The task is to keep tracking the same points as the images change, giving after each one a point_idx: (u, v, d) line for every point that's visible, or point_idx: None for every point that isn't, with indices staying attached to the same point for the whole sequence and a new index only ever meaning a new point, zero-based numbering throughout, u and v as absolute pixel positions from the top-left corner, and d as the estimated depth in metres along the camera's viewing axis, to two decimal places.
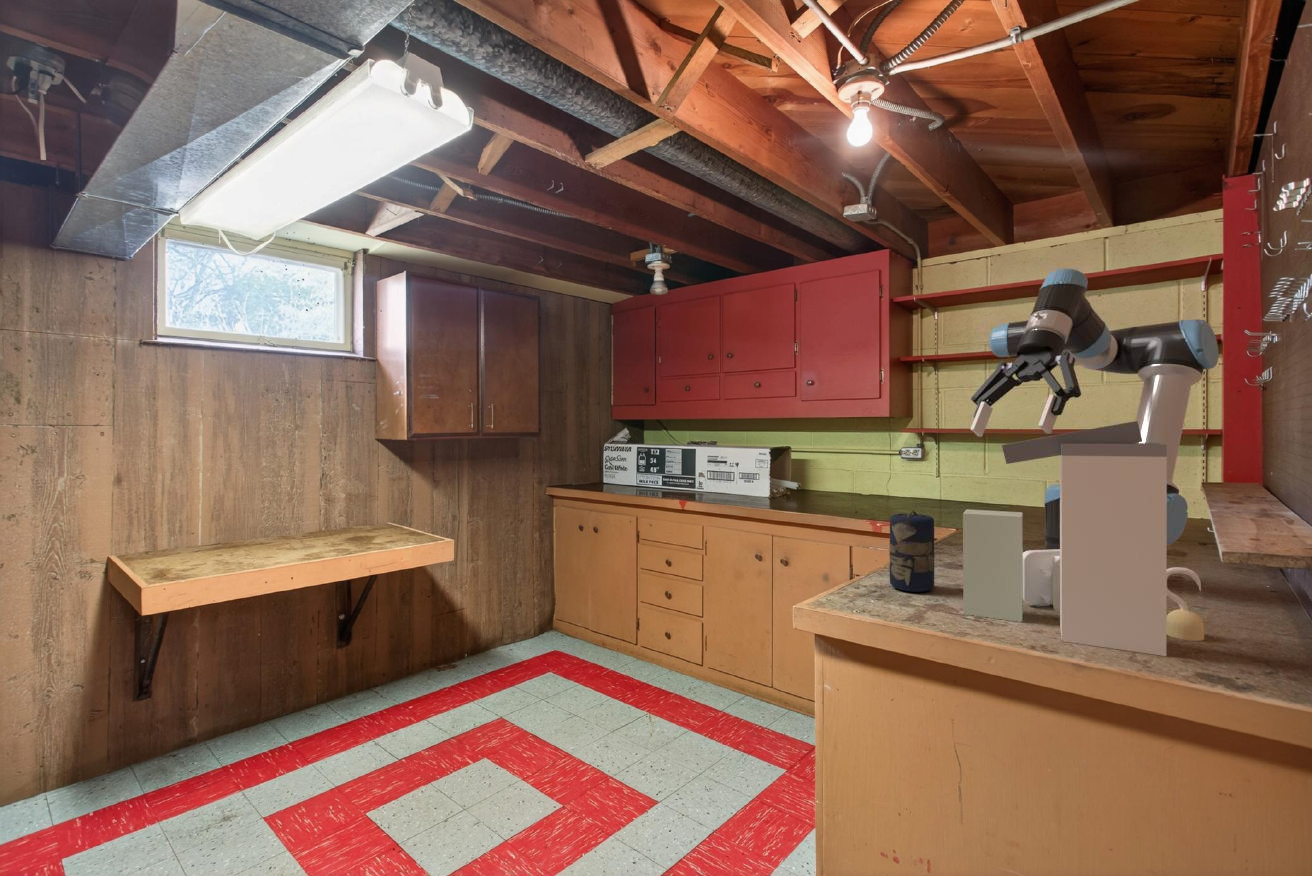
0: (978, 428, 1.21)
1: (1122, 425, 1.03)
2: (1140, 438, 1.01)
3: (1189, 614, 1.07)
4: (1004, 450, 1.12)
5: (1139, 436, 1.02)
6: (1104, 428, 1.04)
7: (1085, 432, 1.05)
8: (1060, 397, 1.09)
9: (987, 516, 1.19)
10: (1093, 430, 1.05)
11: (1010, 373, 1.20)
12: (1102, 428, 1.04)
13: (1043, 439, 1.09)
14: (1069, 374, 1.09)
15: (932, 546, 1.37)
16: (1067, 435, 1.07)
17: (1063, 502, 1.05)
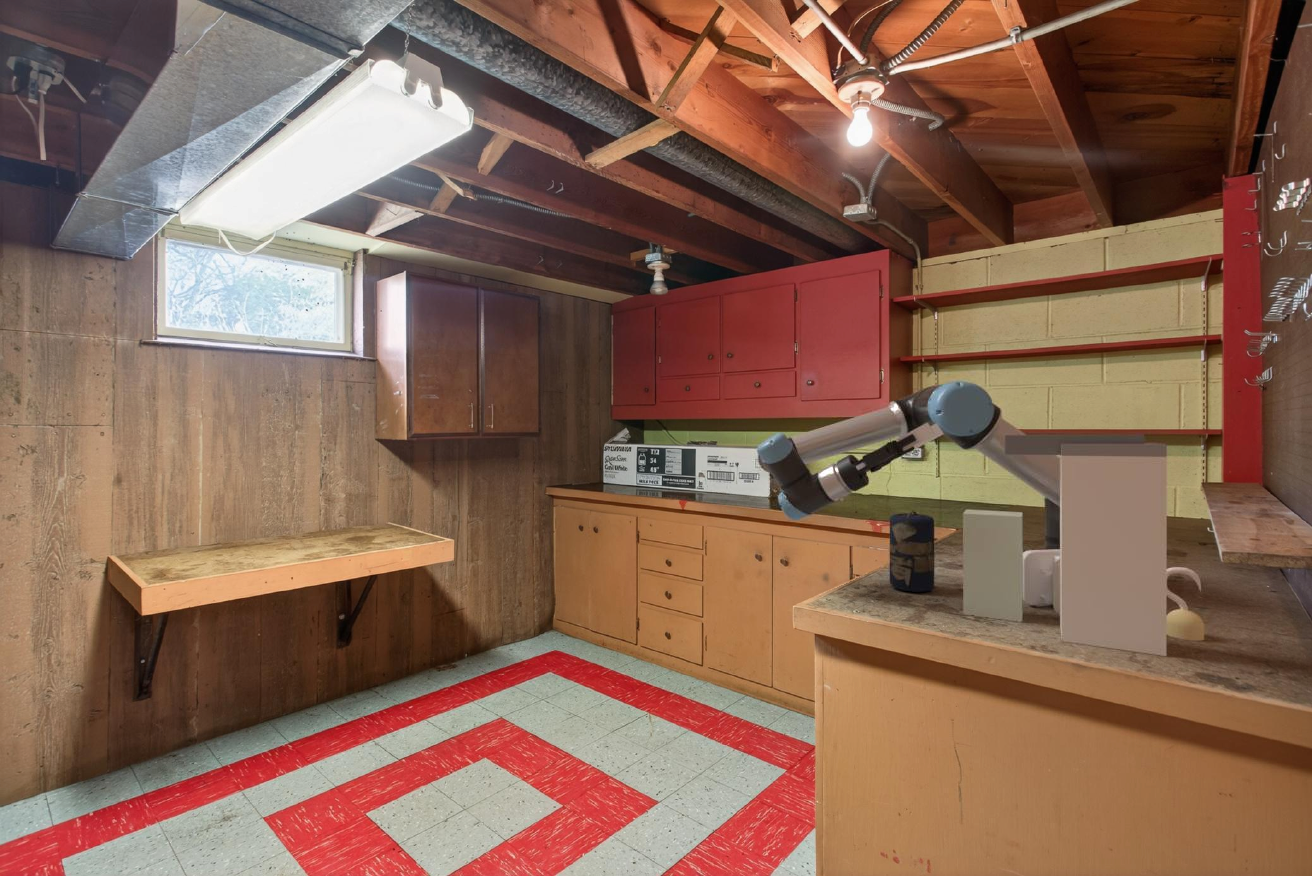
0: (937, 431, 1.31)
1: (1128, 436, 1.02)
2: None
3: (1189, 613, 1.07)
4: (1006, 440, 1.12)
5: None
6: (1110, 436, 1.04)
7: (1091, 436, 1.05)
8: (902, 447, 1.21)
9: (987, 516, 1.19)
10: (1099, 436, 1.04)
11: (887, 464, 1.33)
12: (1108, 436, 1.04)
13: (1047, 436, 1.08)
14: (882, 460, 1.22)
15: (932, 546, 1.37)
16: (1072, 436, 1.06)
17: (1063, 502, 1.05)
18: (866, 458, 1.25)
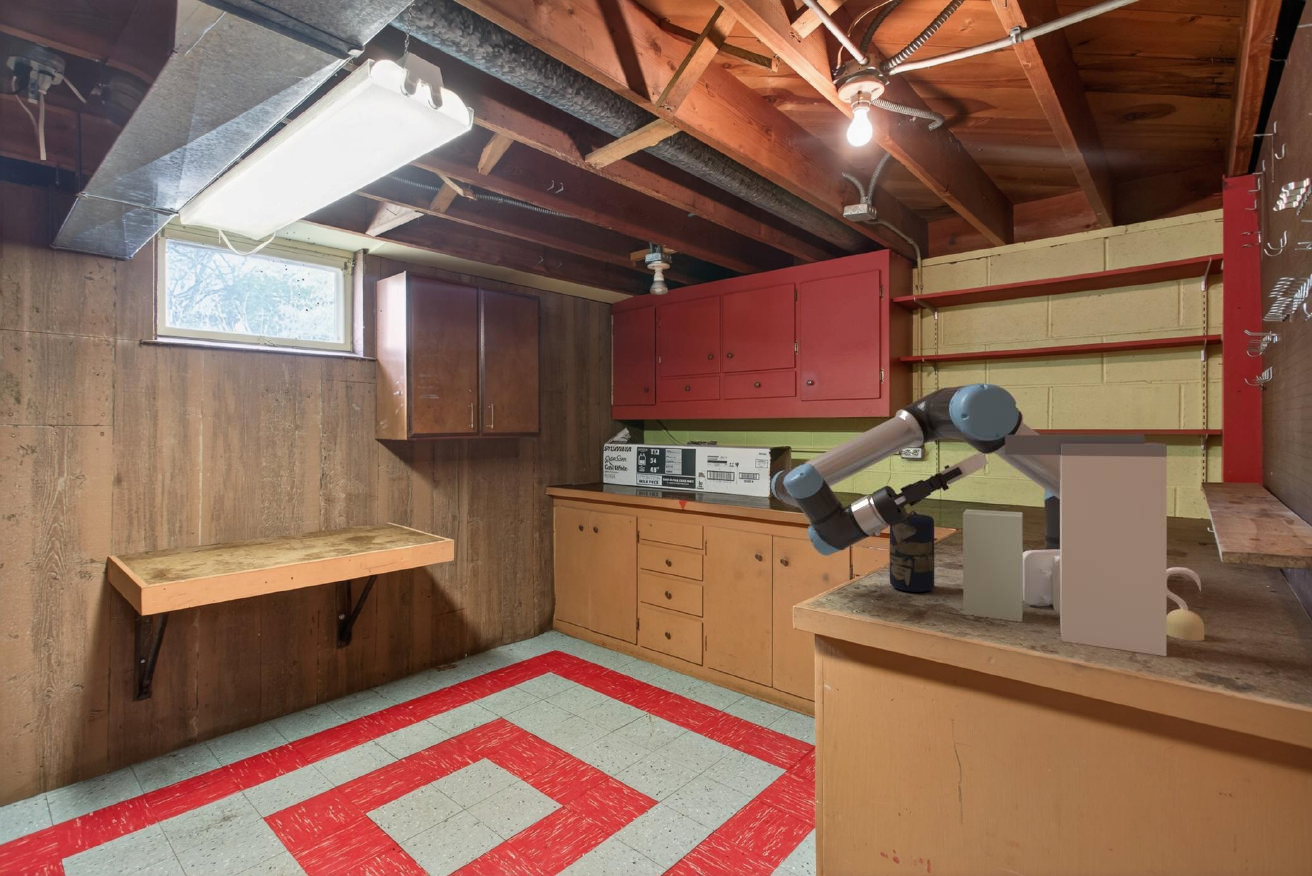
0: (981, 460, 1.21)
1: (1128, 436, 1.02)
2: None
3: (1189, 614, 1.07)
4: (1006, 440, 1.12)
5: None
6: (1110, 436, 1.04)
7: (1091, 436, 1.05)
8: (947, 481, 1.11)
9: (987, 516, 1.19)
10: (1099, 436, 1.04)
11: None
12: (1108, 436, 1.04)
13: (1047, 436, 1.08)
14: (924, 495, 1.12)
15: (932, 546, 1.37)
16: (1072, 436, 1.06)
17: (1063, 502, 1.05)
18: (906, 492, 1.15)
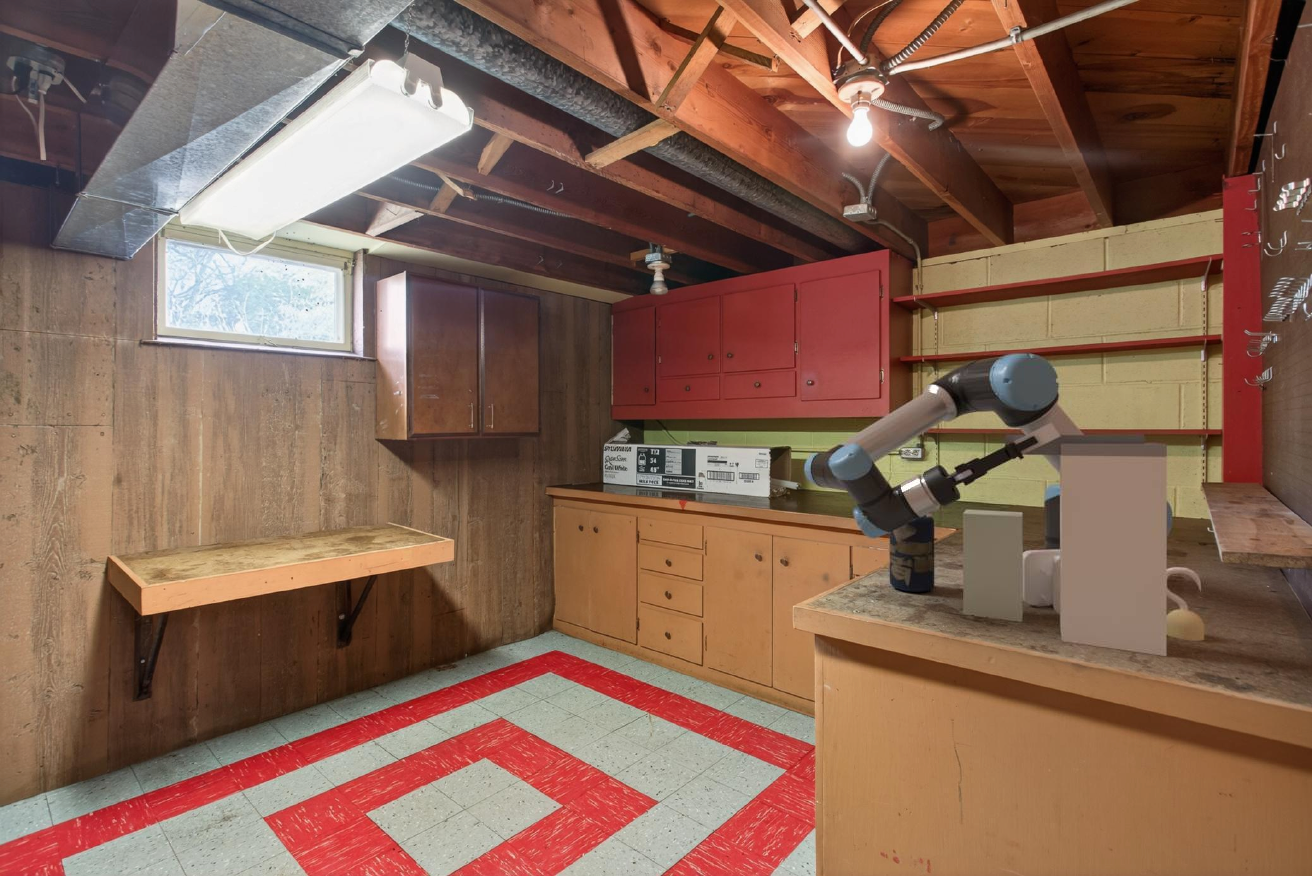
0: None
1: (1128, 436, 1.02)
2: None
3: (1189, 614, 1.07)
4: (1006, 440, 1.12)
5: None
6: (1110, 436, 1.04)
7: (1091, 436, 1.05)
8: (1022, 450, 1.09)
9: (987, 516, 1.19)
10: (1099, 436, 1.04)
11: None
12: (1108, 436, 1.04)
13: None
14: None
15: (932, 546, 1.37)
16: (1072, 436, 1.06)
17: (1063, 502, 1.05)
18: (975, 464, 1.11)
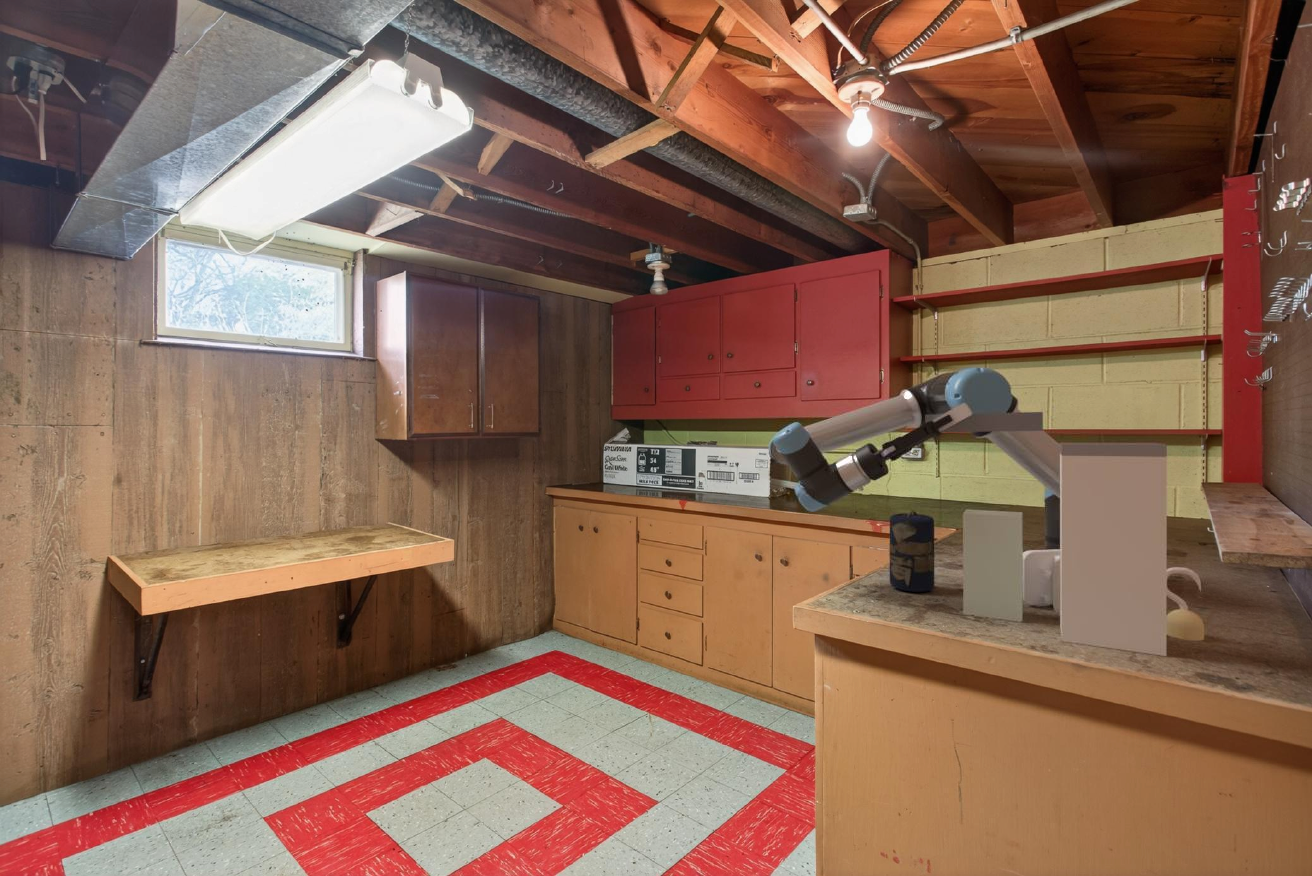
0: None
1: (1029, 413, 1.14)
2: (1041, 427, 1.13)
3: (1189, 614, 1.07)
4: (926, 419, 1.23)
5: (1041, 425, 1.13)
6: (1014, 413, 1.15)
7: (997, 414, 1.17)
8: (939, 428, 1.21)
9: (987, 516, 1.19)
10: (1004, 414, 1.16)
11: (908, 451, 1.28)
12: (1012, 413, 1.16)
13: None
14: (917, 442, 1.21)
15: (932, 546, 1.37)
16: (982, 415, 1.18)
17: (1063, 502, 1.05)
18: (897, 441, 1.22)
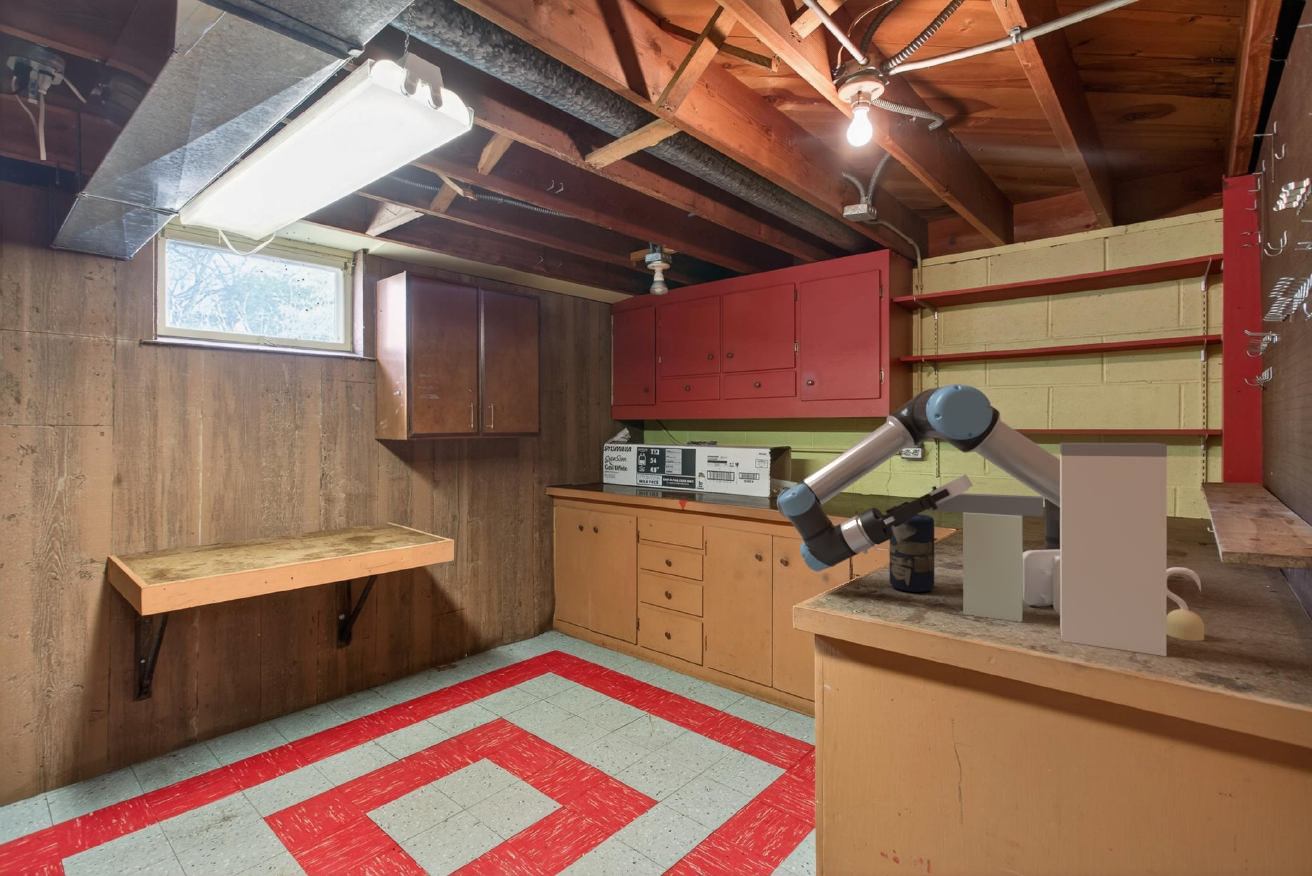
0: (966, 482, 1.28)
1: (1030, 499, 1.17)
2: (1042, 513, 1.16)
3: (1189, 614, 1.07)
4: None
5: (1041, 511, 1.16)
6: (1015, 498, 1.18)
7: (999, 498, 1.19)
8: (936, 501, 1.21)
9: (987, 516, 1.19)
10: (1005, 498, 1.19)
11: (911, 517, 1.31)
12: (1013, 498, 1.18)
13: (963, 496, 1.23)
14: (914, 515, 1.22)
15: (932, 546, 1.37)
16: (983, 497, 1.21)
17: (1063, 502, 1.05)
18: (896, 512, 1.25)
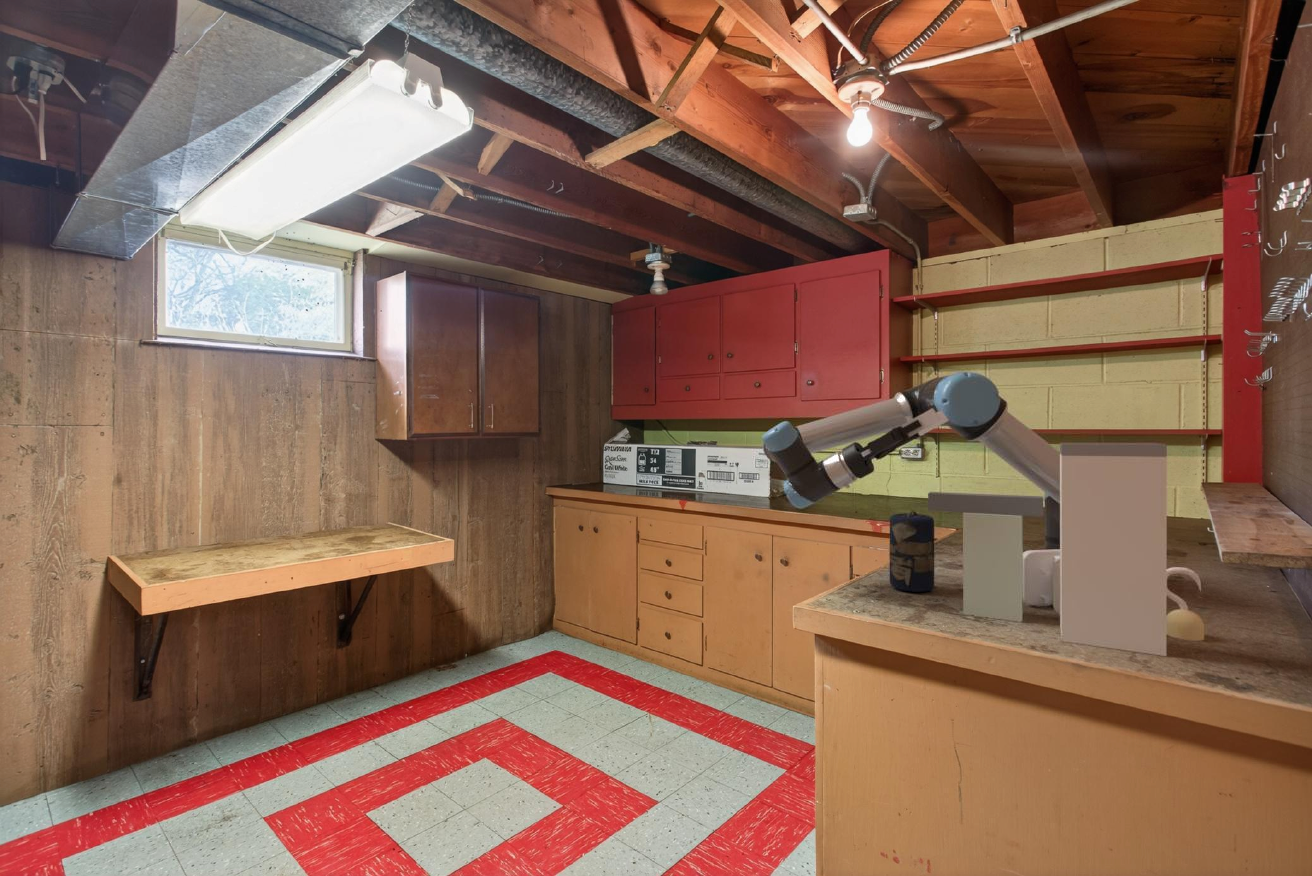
0: (942, 418, 1.31)
1: (1030, 499, 1.17)
2: (1042, 513, 1.16)
3: (1189, 614, 1.07)
4: (929, 498, 1.26)
5: (1041, 511, 1.16)
6: (1015, 498, 1.18)
7: (999, 498, 1.19)
8: (907, 433, 1.21)
9: (987, 516, 1.19)
10: (1005, 498, 1.19)
11: (892, 451, 1.33)
12: (1013, 498, 1.18)
13: (963, 496, 1.23)
14: (887, 446, 1.23)
15: (932, 546, 1.37)
16: (983, 497, 1.21)
17: (1063, 502, 1.05)
18: (871, 444, 1.25)
